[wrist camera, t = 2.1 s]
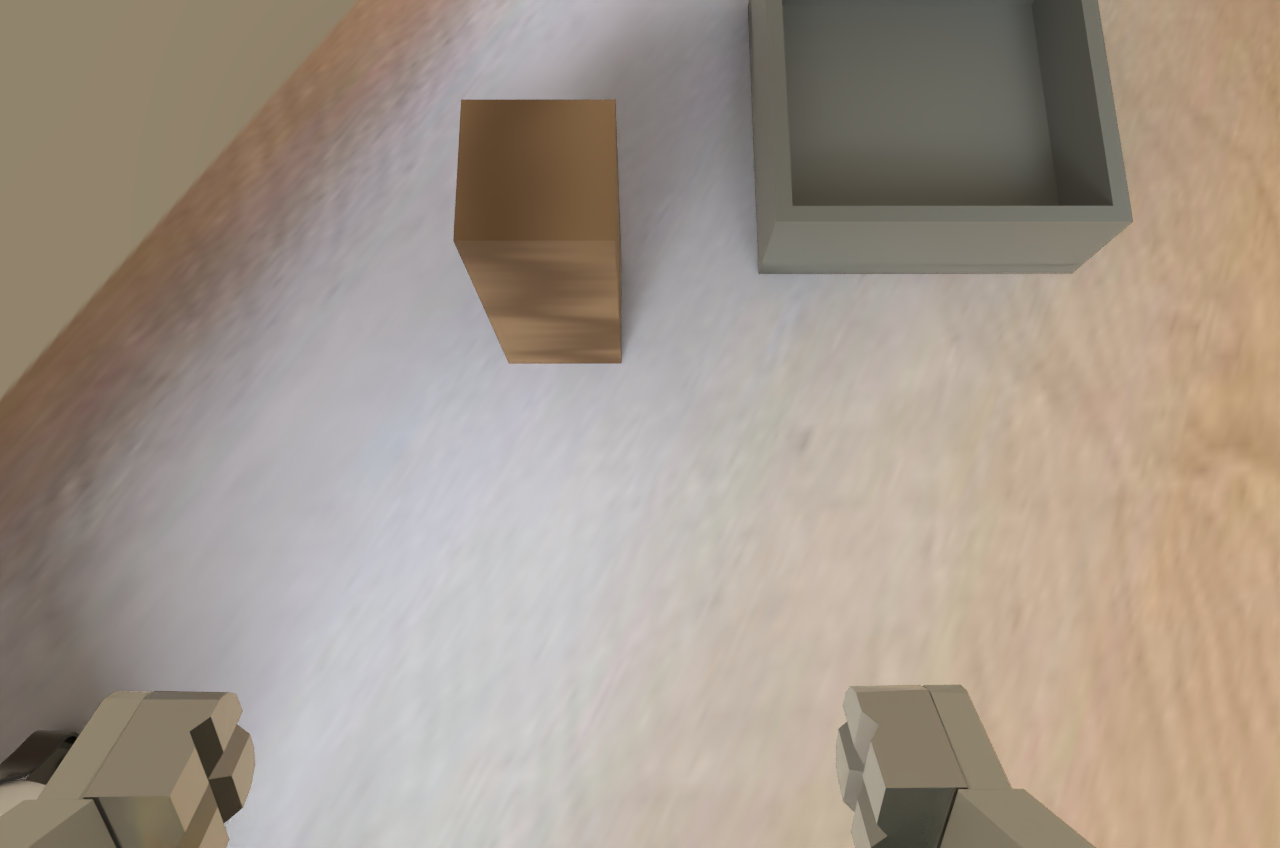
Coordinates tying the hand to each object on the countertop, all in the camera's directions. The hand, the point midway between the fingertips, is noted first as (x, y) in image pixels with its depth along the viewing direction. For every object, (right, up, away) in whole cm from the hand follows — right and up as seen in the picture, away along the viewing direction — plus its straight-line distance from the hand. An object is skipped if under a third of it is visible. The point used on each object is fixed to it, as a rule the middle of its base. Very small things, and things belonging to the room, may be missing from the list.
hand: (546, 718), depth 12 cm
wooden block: (-2, +9, +27) cm, 29 cm away
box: (+14, +18, +30) cm, 37 cm away
